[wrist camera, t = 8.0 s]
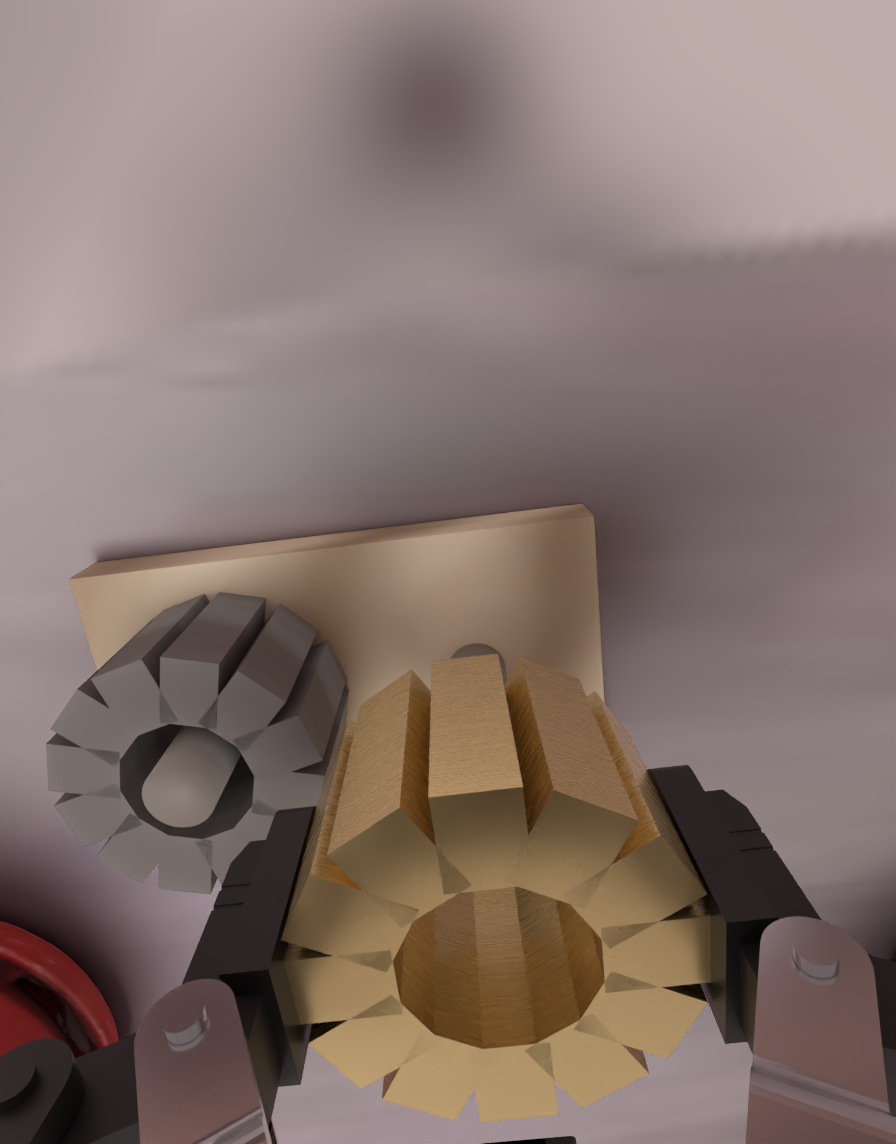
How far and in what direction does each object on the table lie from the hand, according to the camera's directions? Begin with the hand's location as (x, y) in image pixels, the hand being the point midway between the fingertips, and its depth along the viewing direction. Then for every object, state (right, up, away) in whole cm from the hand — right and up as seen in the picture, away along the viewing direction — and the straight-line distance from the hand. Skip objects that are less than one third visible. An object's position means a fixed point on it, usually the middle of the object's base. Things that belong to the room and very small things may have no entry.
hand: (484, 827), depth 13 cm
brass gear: (0, 0, +1) cm, 1 cm away
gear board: (-3, +2, +8) cm, 9 cm away
